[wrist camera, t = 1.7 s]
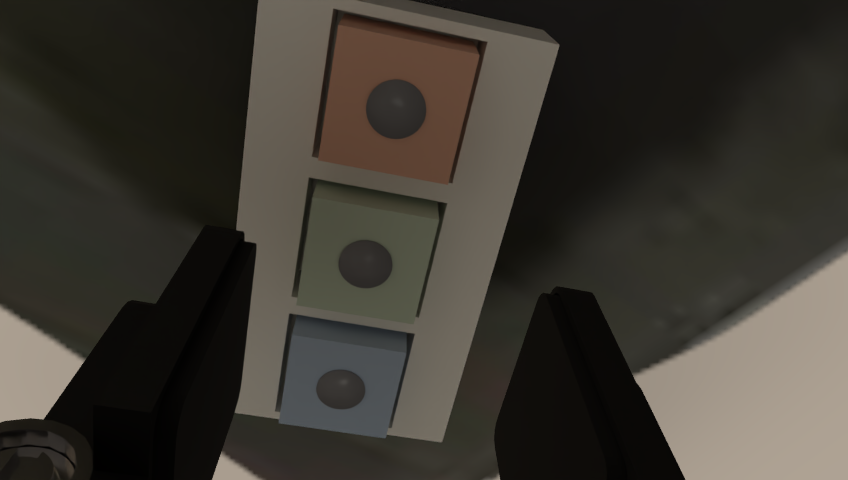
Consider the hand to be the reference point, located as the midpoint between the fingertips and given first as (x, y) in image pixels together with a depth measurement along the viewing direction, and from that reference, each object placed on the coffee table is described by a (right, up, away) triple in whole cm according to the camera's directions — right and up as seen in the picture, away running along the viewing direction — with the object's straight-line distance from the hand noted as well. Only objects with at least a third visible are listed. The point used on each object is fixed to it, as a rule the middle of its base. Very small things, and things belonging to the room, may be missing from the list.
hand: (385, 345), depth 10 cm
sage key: (-2, +2, +17) cm, 17 cm away
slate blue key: (-3, -3, +19) cm, 20 cm away
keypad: (-2, +2, +18) cm, 18 cm away
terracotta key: (0, +7, +14) cm, 16 cm away
